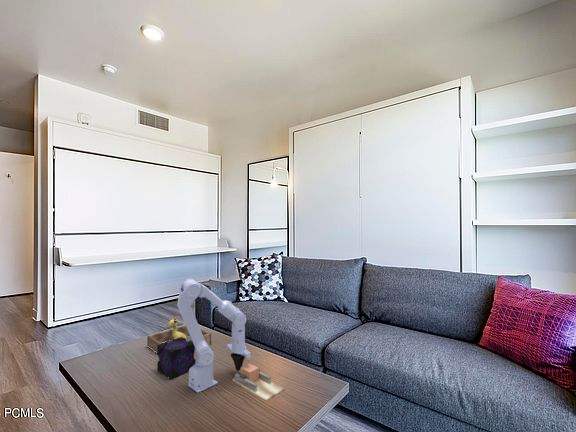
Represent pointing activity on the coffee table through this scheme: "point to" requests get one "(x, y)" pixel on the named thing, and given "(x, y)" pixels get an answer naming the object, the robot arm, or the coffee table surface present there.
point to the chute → (259, 385)
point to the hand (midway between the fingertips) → (238, 369)
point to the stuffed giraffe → (175, 330)
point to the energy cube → (175, 357)
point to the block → (250, 372)
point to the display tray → (167, 335)
